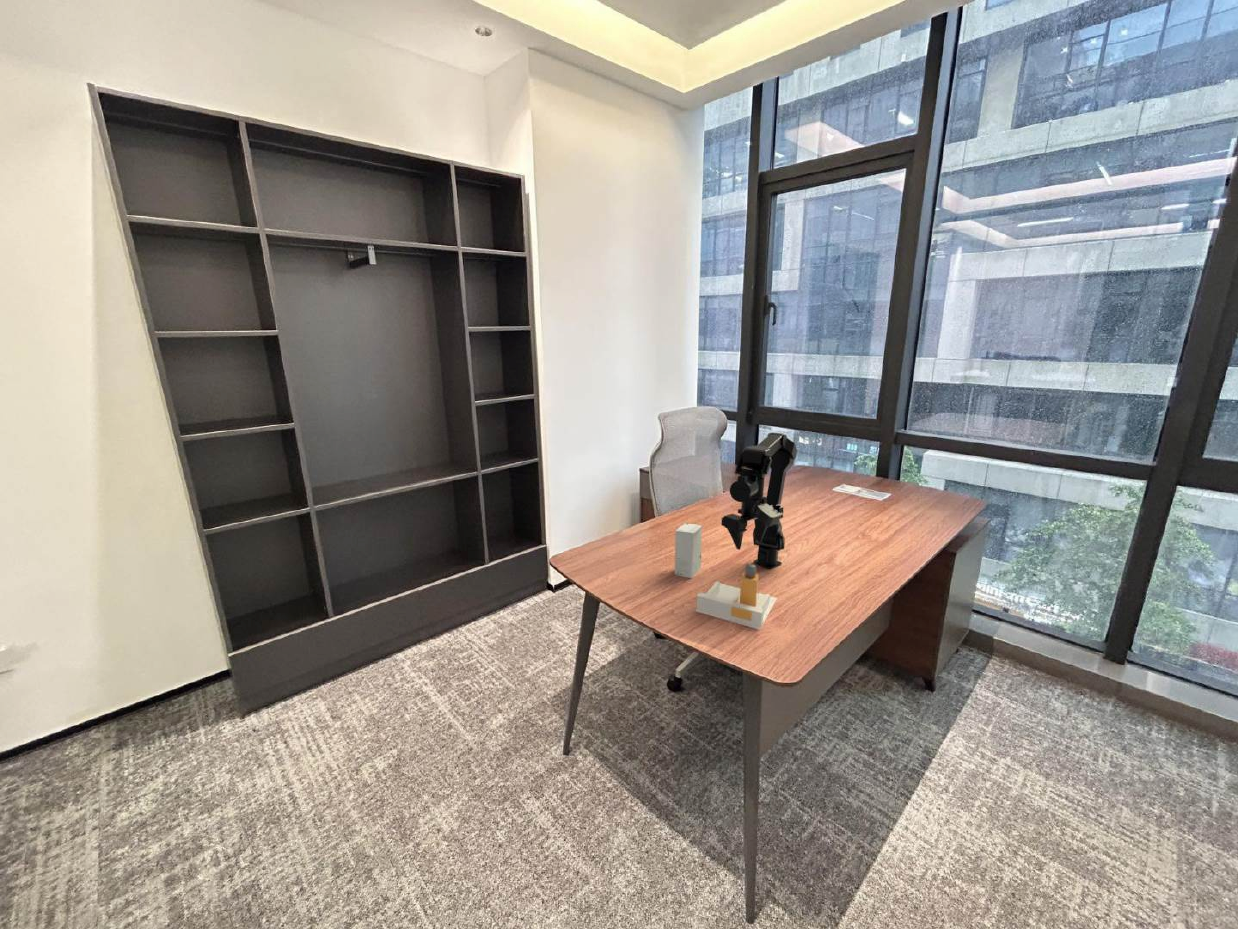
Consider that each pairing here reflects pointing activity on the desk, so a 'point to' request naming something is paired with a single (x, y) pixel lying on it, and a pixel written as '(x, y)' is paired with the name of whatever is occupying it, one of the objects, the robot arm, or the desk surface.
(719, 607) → the white ribbed tray
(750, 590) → the orange plug
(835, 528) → the desk surface
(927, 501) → the desk surface
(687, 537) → the skincare box
